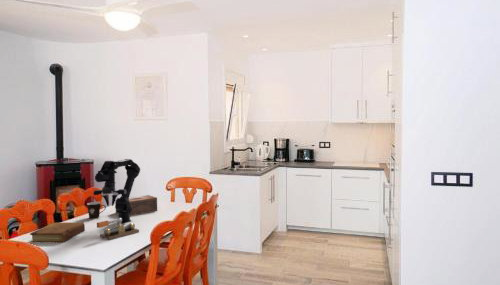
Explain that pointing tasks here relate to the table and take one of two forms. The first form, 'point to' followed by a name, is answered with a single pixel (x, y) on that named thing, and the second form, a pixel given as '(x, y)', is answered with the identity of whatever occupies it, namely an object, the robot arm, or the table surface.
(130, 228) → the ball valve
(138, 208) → the tissue box cover
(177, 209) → the table surface
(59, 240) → the diary
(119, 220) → the valve lever
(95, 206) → the coffee mug
